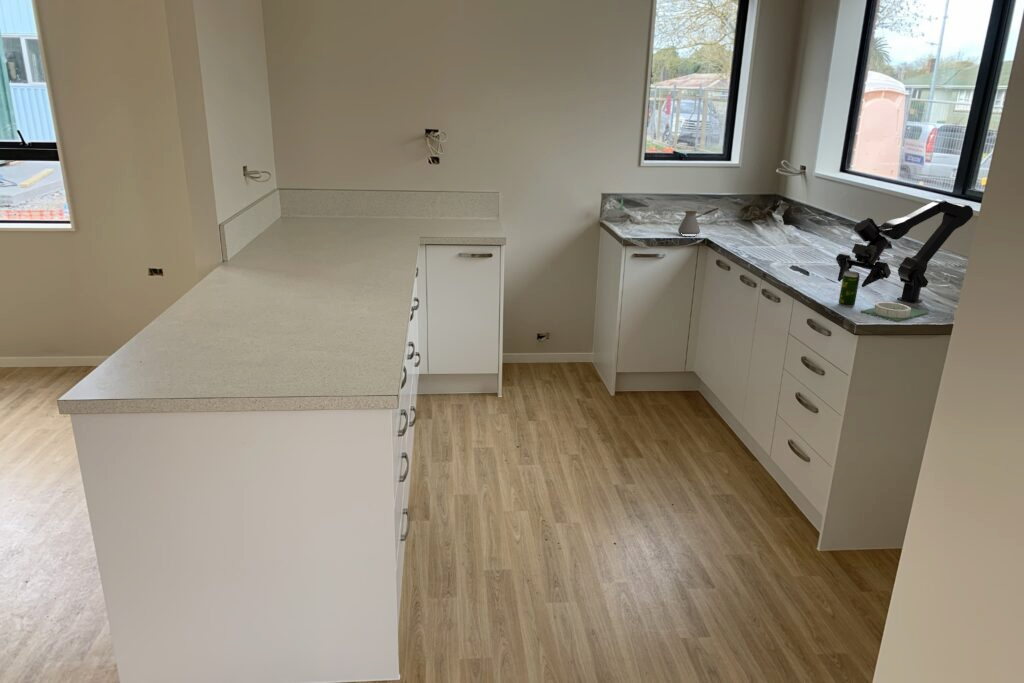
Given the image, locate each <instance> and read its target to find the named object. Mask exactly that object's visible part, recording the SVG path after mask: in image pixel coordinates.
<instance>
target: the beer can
mask: <svg viewBox="0 0 1024 683" xmlns="http://www.w3.org/2000/svg"><path fill="white" fill-rule="evenodd" d="M860 275H861V274H860V272H858V271H854V270H852V271H851V270H850V271H845V273H844V274H843V279H842V280H841V287H840V293H839V296H838V297H839V298H838V305H839V306H840V305H841V306H840V307H845V308H852V307H854V306H855V305H856V300H857V294H858V291H859V290H858V288H859V283H860V279H861V278H860V277H861V276H860Z"/></svg>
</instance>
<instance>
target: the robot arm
mask: <svg viewBox="0 0 1024 683" xmlns="http://www.w3.org/2000/svg"><path fill="white" fill-rule="evenodd" d="M940 213H943V215H942V220H941V223H940V225H939V226H938V227H937V228H936V229H935V231H934V232H933V233H932V235H931V236H930V237H929V238H928V239H927V241H925V243H924V244H923V245H922V247H921V248H920V249H919V250H918V251H917V253H916V254H915V255H913V256H912V257H910V256H905V258H904V259H903V261H902V262H901V263H900V264H898V266H899V267H898V269H897V274H898V276H899V281H900V282H902V283H904V284H903V288H902V292H901V293H902V294H901V296H900V297H896V299H897V300H899V301H903V302H907V303H911V304H915V303H920V302H923V299H921V298H920V294H921V291H922V288H926V287H927V285H928V284H929V280H928V279H927V278H926V277H925V274H926V272H927V269H928V265H929V264H928V263H929V262H930V260H931V259H932V258H933V257H934V255H935V254H936V253H937V252H938V251H939V250H940V249H941V247H942V246H943V244H944V243H945V242H947V240H948V238H950V236H951V235H952V234H953V233H954V232H955V231H956V230H957V229H959V228H961V227H963V226H964V225H965V224H967V223H968V222H969V221H970V220H971V219H972V218H973V216H974V209H973V207H972V206H970V205H967V204H963V203H958V202H955V203H954V202H953V203H952V202H950V201H947V200H944V199H939V198H937V199H934V200H932V201H931V202H930V203H928V204H926V205H924V206H922V207H920V208H918V209H916V210H914V211H912V212H911V213H909V214H907V215H904V216H902V217H898V218H893V219H889V220H887V221H885V222H884V223H882V224H879V225H877V224H876V222H875V221H874V219H873V218H872V217H871V218H870V217H867V218H866V219H863V220H862V221H860V222H857V223H856V225H854V227H853V231H854V233H856V235H857V236H858V237H859V238H860V239H861V241H863V242H865V243H867V242H868V243H867V244H866V245H864V244H860V243H854V246H853V247H852V249H851V253H853V254H854V258H855V259H856V260H855V259H852V257H851V256H850V254H845V253H838V254H837V255H836V257H835V260H836V262H837V265H838V267H839V273H838V276H837V281H838V282H842V280H843V274H844V273H845V271H851V270H850V269H852V268H853V266H854V267H858V268H861V269H865V270H870V271H869V273H868V275H867V276H866V278H864V281H863V282H862V284H861V288H864V287H865V288H866V286H868V285H870V284H872V283H874V282H877V281H879V280H883V279H888V278H889V277H890V276H891V272H892V271H891V268H890V265H889V264H888V262H885V261H880V260H881V257H880V256H881V255H882V253H883V252H884V251H885V250H886V249H887V250H889V249H890V250H891V249H893V245H892V240H897V241H898V240H900V239H901V238H903V237H904V236H906V235H907V234H908V233H909V232H910V231H911V229H913V227H916V226H918V225H920V224H922V223H923V222H926V221H927V220H930V219H931V218H932V217H935V216H936V215H939V214H940ZM887 238H888V239H890V241H889V240H888V239H887ZM891 239H892V240H891Z"/></svg>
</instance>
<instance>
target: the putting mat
mask: <svg viewBox="0 0 1024 683" xmlns="http://www.w3.org/2000/svg"><path fill="white" fill-rule="evenodd" d="M910 308H911V312H910V316H909V317H906V318H894V317H887V316H883V315H879V314H877V313H875V312H874V307H872V308H867V309H863V310H861V311H860V313H861V312H862V314H865V313H866V315H869V314H870V316H873V315H874V316H873V317H877V316H878V317H877V318H880V317H883V318H882V319H884V318H886V319H885V320H888V319H890V320H889V321H892V320H893V321H892V322H895V321H896V323H899V322H902V320H903V321H906V320H910V319H914V318H917V316H918V317H921V316H925V315H928V314H929V312H928V311H924V310H920V309H917V308H912V307H910ZM913 317H914V318H913ZM909 318H910V319H909ZM898 321H899V322H898Z"/></svg>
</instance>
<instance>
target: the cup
mask: <svg viewBox="0 0 1024 683" xmlns="http://www.w3.org/2000/svg"><path fill="white" fill-rule="evenodd" d="M873 308H874V312H875V313H877V314H879V315H883V316H887V317H894V318H906V317H909V316H910V312H911V308H912V307H911V306H908V305H906V304H902V303H899V302H891V301H877V302H875V304H874V307H873Z"/></svg>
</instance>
